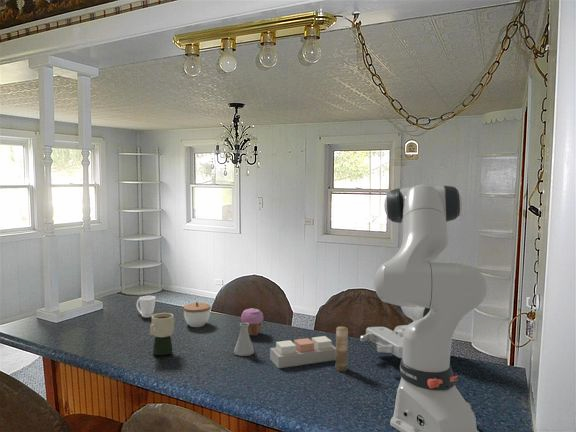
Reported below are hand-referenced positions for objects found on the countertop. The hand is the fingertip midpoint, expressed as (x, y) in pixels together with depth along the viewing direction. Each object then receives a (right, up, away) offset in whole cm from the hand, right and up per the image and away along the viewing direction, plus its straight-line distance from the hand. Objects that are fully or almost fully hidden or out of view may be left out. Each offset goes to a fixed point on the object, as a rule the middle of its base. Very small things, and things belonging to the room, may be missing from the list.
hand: (368, 343), depth 138 cm
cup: (-88, -2, +50) cm, 101 cm away
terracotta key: (-21, -3, +4) cm, 21 cm away
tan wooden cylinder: (-9, -7, -3) cm, 12 cm away
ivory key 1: (-27, -3, +2) cm, 27 cm away
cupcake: (-40, -5, +28) cm, 49 cm away
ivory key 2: (-15, -3, +6) cm, 16 cm away
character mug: (-68, -6, +7) cm, 69 cm away
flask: (-41, -6, +9) cm, 42 cm away
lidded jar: (-63, -4, +38) cm, 74 cm away
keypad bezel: (-21, -6, +4) cm, 22 cm away
